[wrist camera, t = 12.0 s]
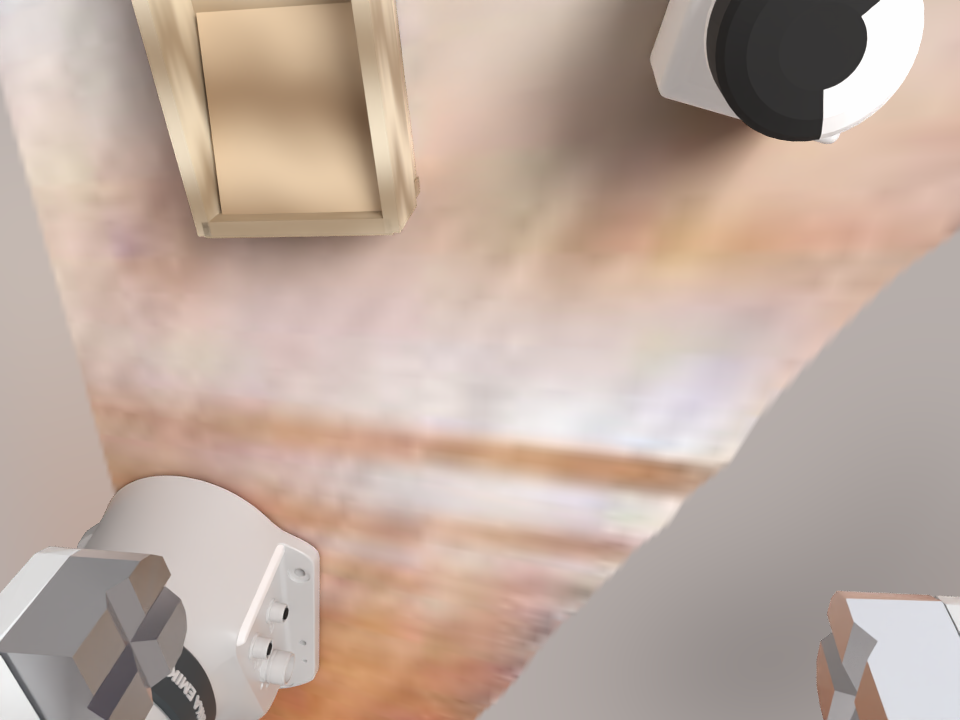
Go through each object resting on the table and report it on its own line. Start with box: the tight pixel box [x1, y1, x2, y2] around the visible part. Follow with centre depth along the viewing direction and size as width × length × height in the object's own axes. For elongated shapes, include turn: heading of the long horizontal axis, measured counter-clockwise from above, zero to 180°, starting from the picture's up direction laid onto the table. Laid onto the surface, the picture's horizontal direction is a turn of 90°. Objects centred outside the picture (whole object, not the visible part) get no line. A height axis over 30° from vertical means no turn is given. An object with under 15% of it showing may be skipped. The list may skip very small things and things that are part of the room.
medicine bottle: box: [650, 0, 924, 144], centre depth 28 cm, size 7×7×12 cm
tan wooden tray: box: [131, 0, 420, 238], centre depth 33 cm, size 16×10×6 cm, turn 4°
